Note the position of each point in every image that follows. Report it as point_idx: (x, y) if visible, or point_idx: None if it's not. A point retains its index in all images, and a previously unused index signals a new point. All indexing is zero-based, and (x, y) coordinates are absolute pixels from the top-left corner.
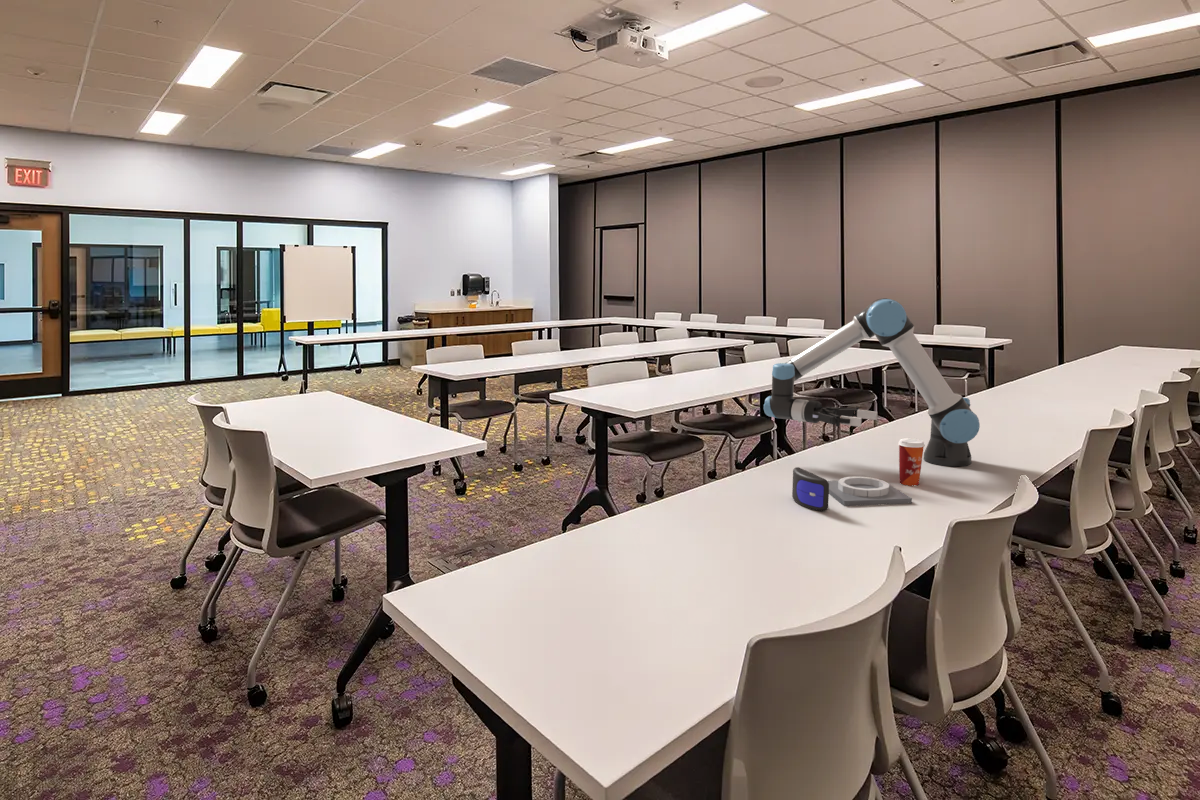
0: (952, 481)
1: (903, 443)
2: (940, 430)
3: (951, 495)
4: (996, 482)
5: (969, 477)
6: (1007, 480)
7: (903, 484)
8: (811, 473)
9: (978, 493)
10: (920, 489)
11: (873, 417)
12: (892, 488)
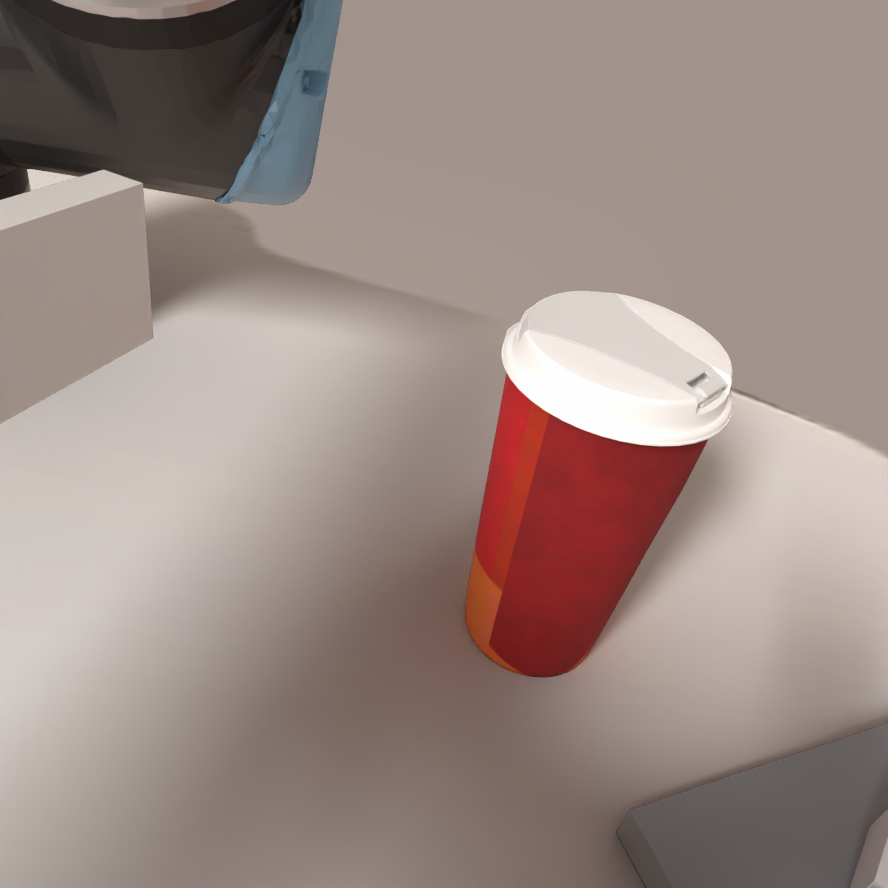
0: (407, 423)
1: (708, 407)
2: (267, 147)
3: (688, 489)
4: (384, 309)
5: (311, 353)
6: (343, 278)
7: (581, 661)
8: None
9: None
10: (646, 591)
11: (110, 316)
12: (871, 758)
